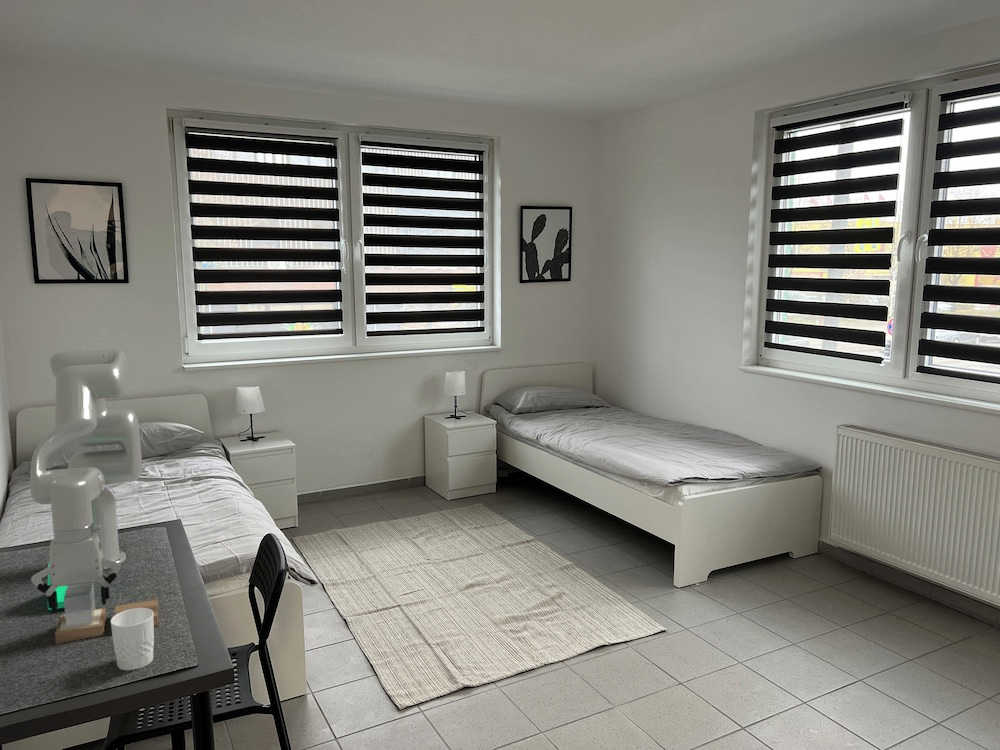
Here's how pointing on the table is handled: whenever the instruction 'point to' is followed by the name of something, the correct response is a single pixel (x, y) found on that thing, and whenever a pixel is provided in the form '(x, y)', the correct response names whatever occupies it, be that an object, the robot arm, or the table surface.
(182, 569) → the table surface
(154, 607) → the stand
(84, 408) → the robot arm
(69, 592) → the block
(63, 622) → the stand
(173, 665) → the table surface
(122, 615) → the white cup
